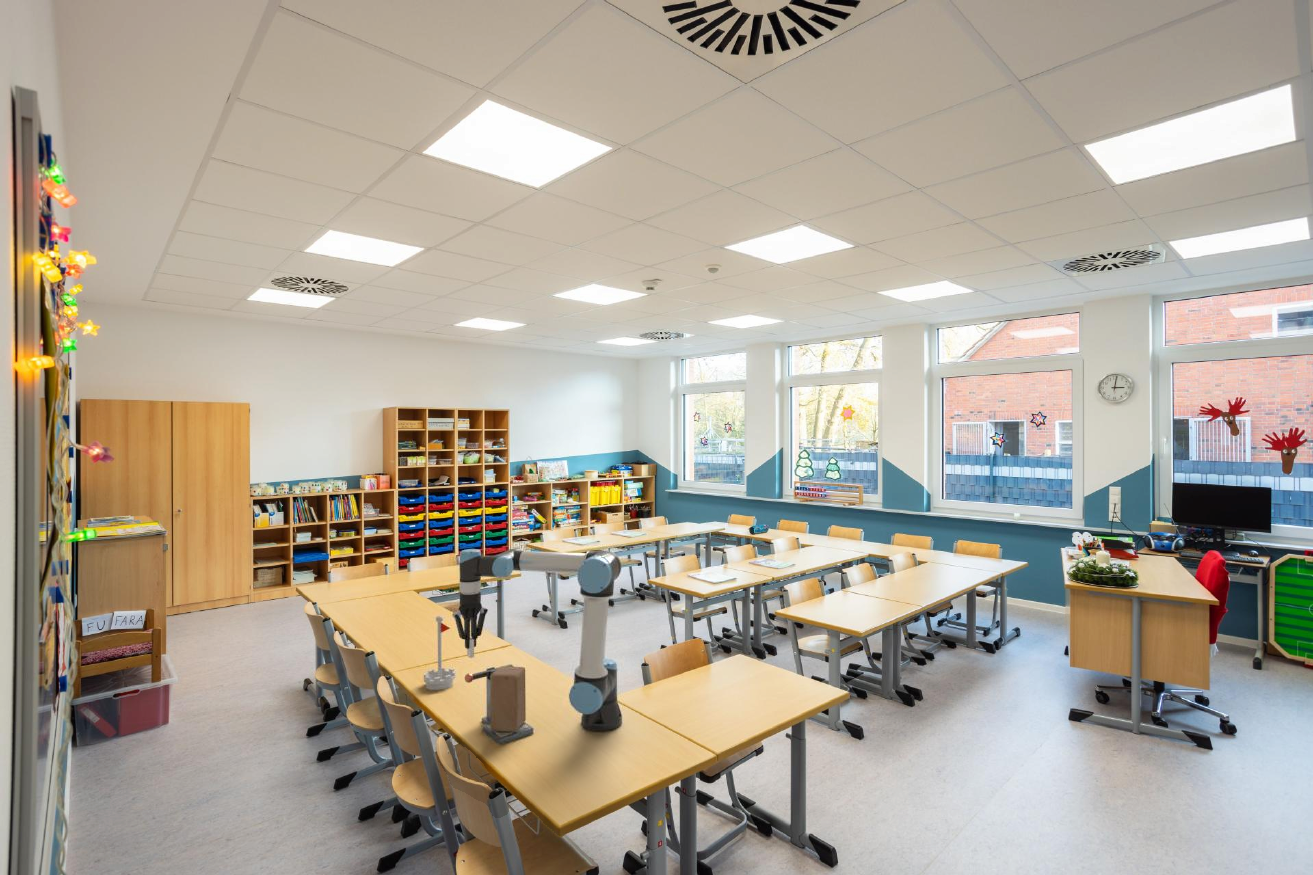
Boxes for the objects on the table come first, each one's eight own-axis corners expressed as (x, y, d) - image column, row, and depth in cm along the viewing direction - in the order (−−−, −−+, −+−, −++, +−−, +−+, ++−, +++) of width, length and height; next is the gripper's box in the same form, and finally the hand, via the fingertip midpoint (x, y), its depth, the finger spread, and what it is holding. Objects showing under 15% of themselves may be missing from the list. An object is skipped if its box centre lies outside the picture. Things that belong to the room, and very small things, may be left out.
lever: (516, 678, 242) (516, 663, 243) (466, 691, 230) (466, 675, 230) (512, 675, 245) (512, 660, 245) (463, 689, 232) (463, 673, 232)
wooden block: (516, 733, 223) (515, 676, 223) (489, 731, 224) (489, 674, 225) (526, 720, 233) (526, 666, 233) (500, 719, 234) (500, 664, 235)
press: (533, 733, 227) (533, 678, 228) (500, 744, 219) (499, 688, 219) (505, 713, 244) (504, 663, 244) (472, 723, 236) (472, 671, 236)
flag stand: (417, 689, 270) (417, 618, 270) (435, 678, 282) (434, 610, 283) (444, 692, 266) (444, 620, 267) (461, 680, 279) (460, 612, 279)
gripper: (482, 587, 240) (482, 650, 239) (448, 593, 231) (449, 657, 231) (491, 591, 234) (491, 655, 234) (457, 596, 226) (457, 663, 225)
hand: (470, 656), depth 232 cm, fingers closed
